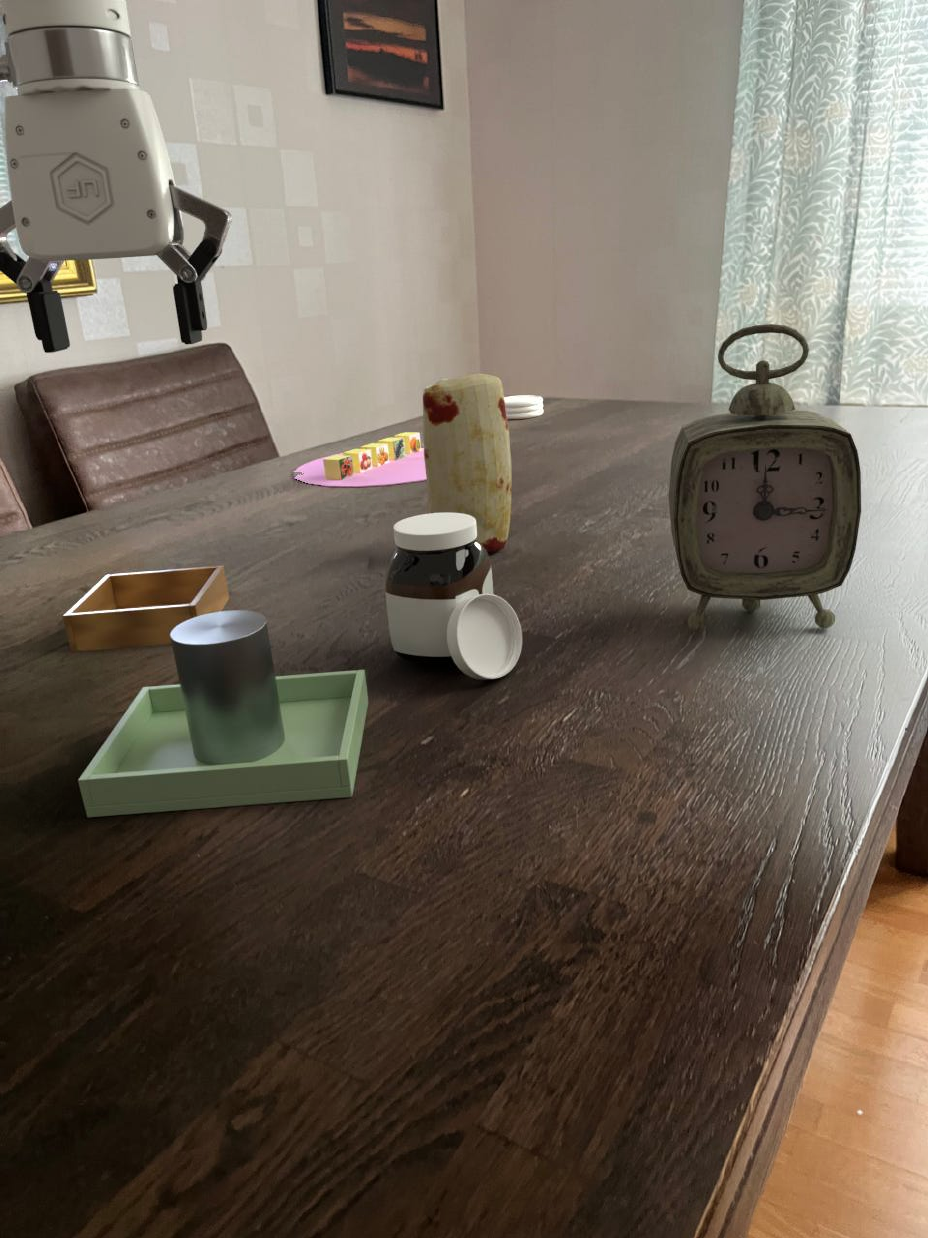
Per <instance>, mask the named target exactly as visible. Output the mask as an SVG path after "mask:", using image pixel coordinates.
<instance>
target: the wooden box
mask: <svg viewBox="0 0 928 1238" xmlns="http://www.w3.org/2000/svg"><path fill="white" fill-rule="evenodd" d="M229 599H230V594H229V587H228V581H227V575H226V570H225V565H223V564H222V565H212V566H200V567H197V566H196V567H187V568H186V567H185V568H174V569H173V568H172V569H160V570H150V571H149V570H148V571H137V572H136V571H135V572H124V573H112V574H111V573H110V574H106V575H104V577H102V578H101V579H100V580H99V581H98V582H97V583H96V584H95V585H94V586H93V587H92V588H90V590H88V592H87V593H85V594H84V595H83V596H82V597H81V598H80V599H79V600H77V602H76V603H74V605H72V607H70V608H69V609H68V610H67V611H66V612H65V613H64V614H63V615H62V619H63V623H64V627H65V631H66V632H65V633H66V637H67V640H68V644H69V648H70V652H72V653H73V652H85V651H98V650H110V649H123V648H124V649H125V648H133V647H134V648H135V647H136V648H137V647H147V646H148V647H149V646H160V645H161V646H163V645H172V643H171V638H170V633H171V631H172V630H173V629H174V628H175V627H176V626H177V625H179V624H181V623H183V622H185V621H187V620H189V619H192V618H194V617H198V616H201V615H205V614H209V613H214V612H220V611H223V609H224V607H225V606H226V604H227V602H228V601H229Z"/></svg>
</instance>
